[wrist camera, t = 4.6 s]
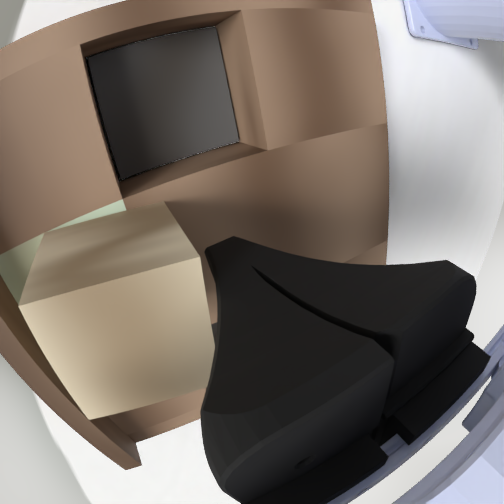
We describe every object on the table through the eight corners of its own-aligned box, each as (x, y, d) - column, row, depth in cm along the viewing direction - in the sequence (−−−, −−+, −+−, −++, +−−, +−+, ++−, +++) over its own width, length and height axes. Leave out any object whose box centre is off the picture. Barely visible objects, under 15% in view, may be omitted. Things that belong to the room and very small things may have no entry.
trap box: (332, 2, 11) (395, -12, 8) (355, 301, 20) (395, 335, 17) (-55, 105, 6) (-109, 110, 3) (113, 413, 16) (125, 470, 12)
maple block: (163, 201, 10) (200, 256, 6) (183, 304, 11) (222, 381, 8) (44, 232, 8) (18, 306, 5) (82, 332, 10) (88, 420, 7)
